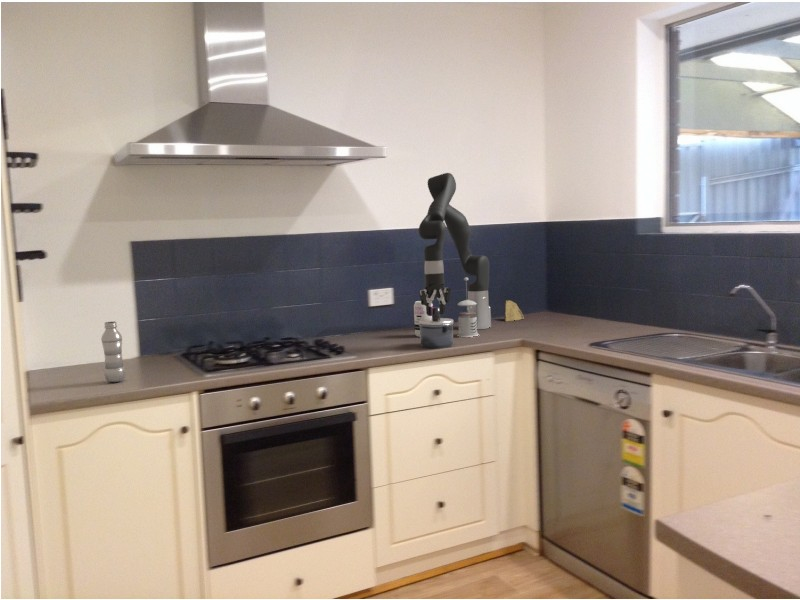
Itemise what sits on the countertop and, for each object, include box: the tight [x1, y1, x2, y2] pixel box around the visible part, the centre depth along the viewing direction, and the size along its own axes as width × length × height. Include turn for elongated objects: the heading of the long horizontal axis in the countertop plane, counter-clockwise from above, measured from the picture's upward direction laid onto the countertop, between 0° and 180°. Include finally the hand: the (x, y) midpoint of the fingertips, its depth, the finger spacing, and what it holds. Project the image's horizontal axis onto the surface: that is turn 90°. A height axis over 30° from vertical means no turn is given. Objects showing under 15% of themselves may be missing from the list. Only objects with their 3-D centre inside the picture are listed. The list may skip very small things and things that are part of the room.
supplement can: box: [413, 300, 434, 338], centre depth 292 cm, size 8×8×15 cm
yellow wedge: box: [504, 299, 525, 322], centre depth 329 cm, size 11×9×10 cm
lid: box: [419, 306, 454, 325], centre depth 266 cm, size 14×14×6 cm
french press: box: [456, 276, 480, 338], centre depth 287 cm, size 10×12×25 cm
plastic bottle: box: [101, 321, 126, 383], centre depth 223 cm, size 6×7×20 cm
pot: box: [419, 323, 454, 349], centre depth 266 cm, size 14×17×9 cm
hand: (435, 314), depth 266 cm, fingers open, 5 cm apart
